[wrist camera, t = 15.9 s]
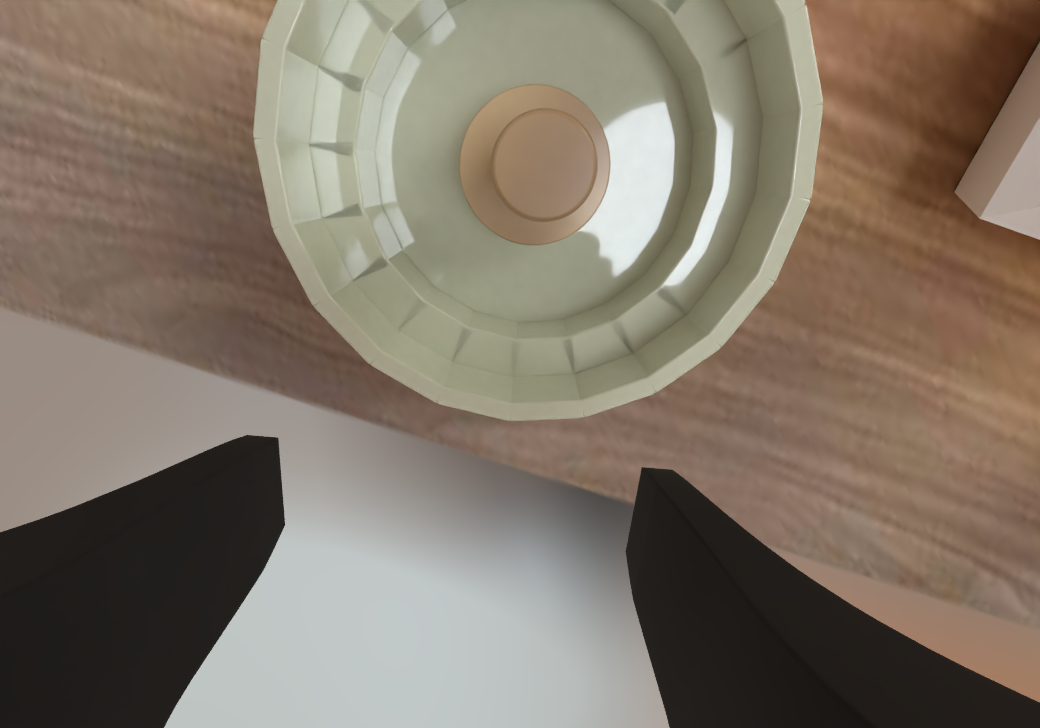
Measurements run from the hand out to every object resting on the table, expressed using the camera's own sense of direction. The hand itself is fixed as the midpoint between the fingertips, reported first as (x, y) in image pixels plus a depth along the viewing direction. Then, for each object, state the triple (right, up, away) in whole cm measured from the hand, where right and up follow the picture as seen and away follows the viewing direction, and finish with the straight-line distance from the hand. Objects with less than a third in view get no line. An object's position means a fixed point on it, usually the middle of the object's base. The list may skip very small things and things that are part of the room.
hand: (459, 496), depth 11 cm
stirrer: (+2, +9, +7) cm, 12 cm away
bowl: (+2, +9, +8) cm, 12 cm away
